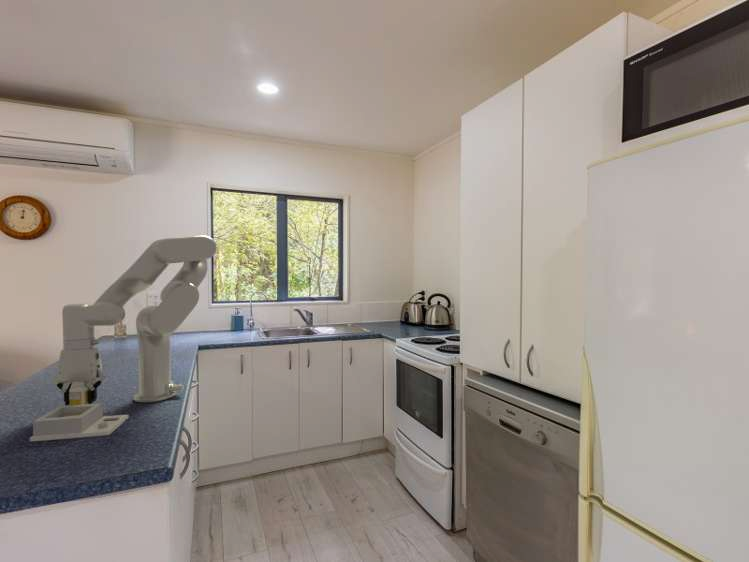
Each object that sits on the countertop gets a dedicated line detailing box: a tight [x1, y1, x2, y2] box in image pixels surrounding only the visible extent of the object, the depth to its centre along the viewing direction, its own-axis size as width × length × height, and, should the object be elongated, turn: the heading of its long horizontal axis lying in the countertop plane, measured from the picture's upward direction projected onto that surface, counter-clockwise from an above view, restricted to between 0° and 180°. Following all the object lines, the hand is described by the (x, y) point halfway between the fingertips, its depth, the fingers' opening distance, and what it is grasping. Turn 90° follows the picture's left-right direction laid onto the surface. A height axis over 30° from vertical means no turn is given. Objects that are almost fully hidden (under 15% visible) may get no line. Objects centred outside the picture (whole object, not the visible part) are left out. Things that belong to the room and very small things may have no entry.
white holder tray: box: [29, 403, 129, 442], centre depth 104 cm, size 18×12×5 cm, turn 102°
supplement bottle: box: [68, 382, 90, 406], centre depth 115 cm, size 5×5×10 cm
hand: (80, 402), depth 115 cm, fingers closed on supplement bottle, 5 cm apart
